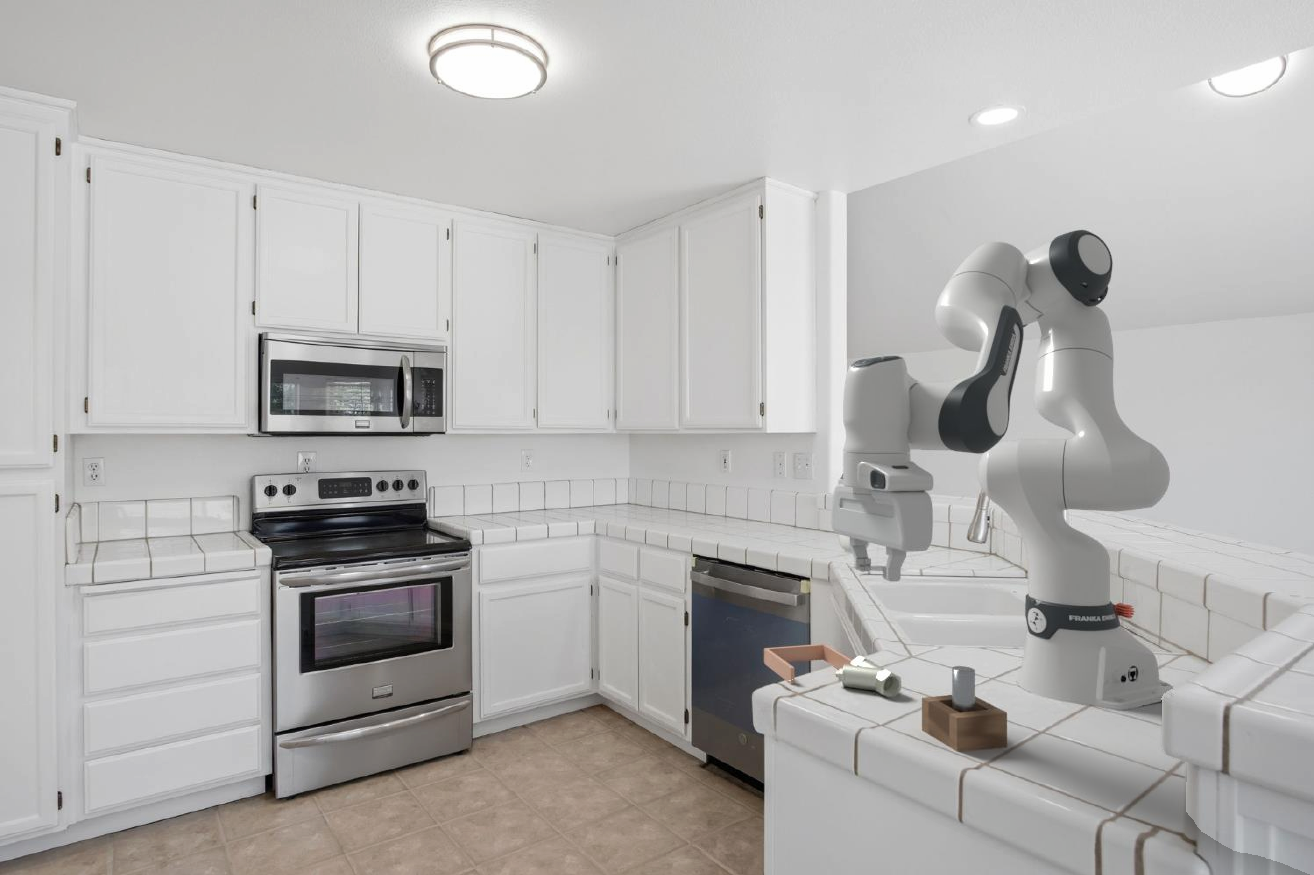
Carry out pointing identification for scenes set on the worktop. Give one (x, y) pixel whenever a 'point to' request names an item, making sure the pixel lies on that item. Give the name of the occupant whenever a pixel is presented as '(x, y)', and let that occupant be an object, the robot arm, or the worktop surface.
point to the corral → (801, 658)
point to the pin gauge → (963, 689)
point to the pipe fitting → (869, 677)
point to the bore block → (964, 724)
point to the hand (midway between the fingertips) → (876, 575)
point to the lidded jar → (846, 543)
